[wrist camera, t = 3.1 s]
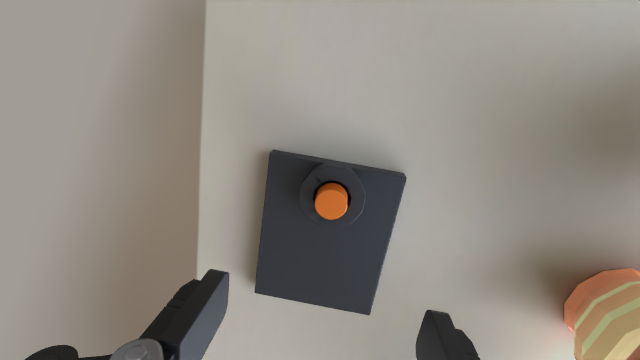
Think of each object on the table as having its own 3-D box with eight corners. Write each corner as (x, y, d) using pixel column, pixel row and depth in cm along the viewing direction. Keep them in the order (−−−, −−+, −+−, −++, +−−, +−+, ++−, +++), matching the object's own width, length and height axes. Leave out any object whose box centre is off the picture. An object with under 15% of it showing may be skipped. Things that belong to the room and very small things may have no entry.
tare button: (344, 213, 26) (344, 222, 24) (314, 208, 26) (312, 216, 24) (350, 185, 25) (350, 192, 23) (319, 179, 25) (317, 186, 24)
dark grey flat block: (368, 306, 32) (370, 328, 29) (258, 284, 32) (249, 304, 29) (404, 170, 27) (411, 180, 24) (273, 146, 27) (265, 154, 25)
